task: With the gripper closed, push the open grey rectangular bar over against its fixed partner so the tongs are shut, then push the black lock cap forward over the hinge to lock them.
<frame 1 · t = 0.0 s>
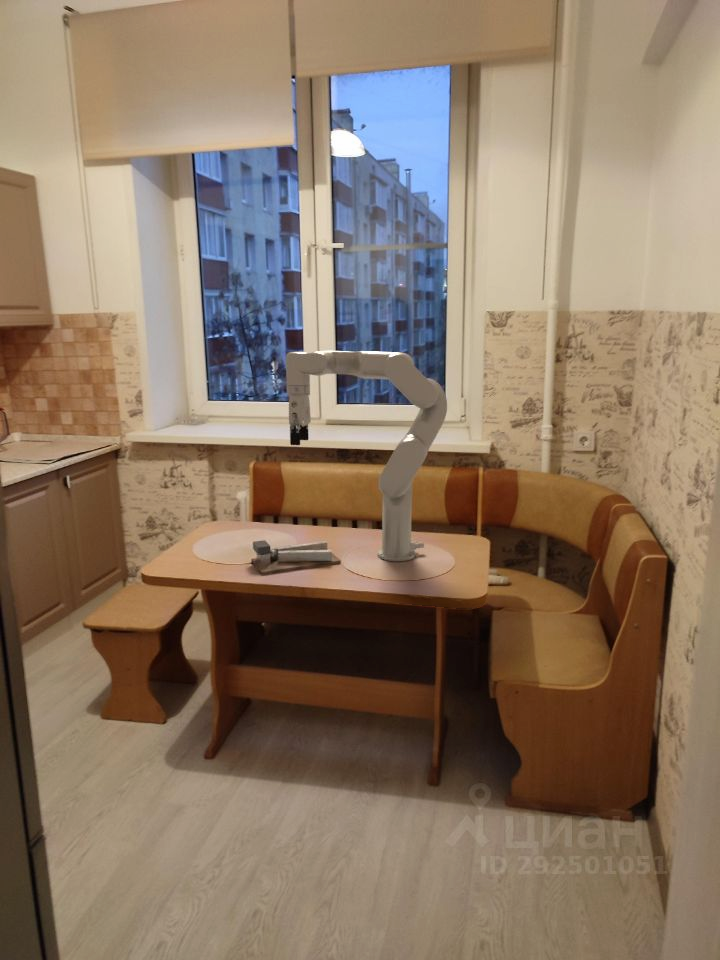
hand: (299, 442, 220), 37 cm above the table, tool pointing down, fingers open, 9 cm apart
tongs frame: (272, 563, 215), resting on cutting board
grey rectangular bar: (300, 554, 214), point 3 cm above the table, hinge at 20.0°
cutting board: (295, 562, 216), on the table
lock slider: (261, 547, 213), point 6 cm above the table, slide at 0.0 cm
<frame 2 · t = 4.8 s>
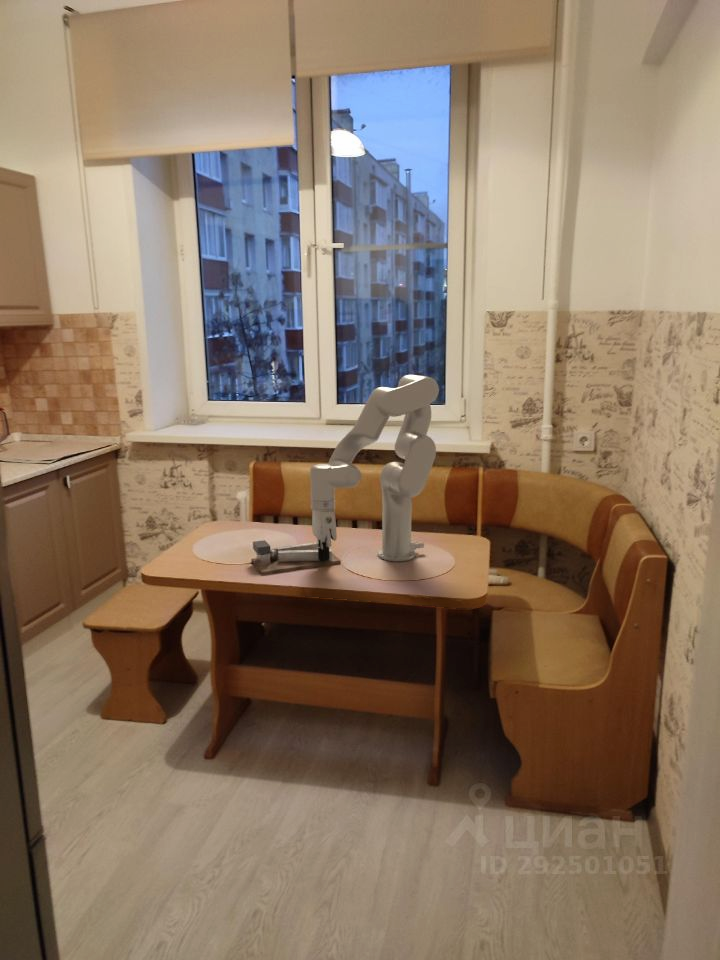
hand: (323, 559, 212), 2 cm above the table, tool pointing down, fingers closed
grey rectangular bar: (300, 554, 215), point 3 cm above the table, hinge at 19.1°, touching gripper
everything else where it was.
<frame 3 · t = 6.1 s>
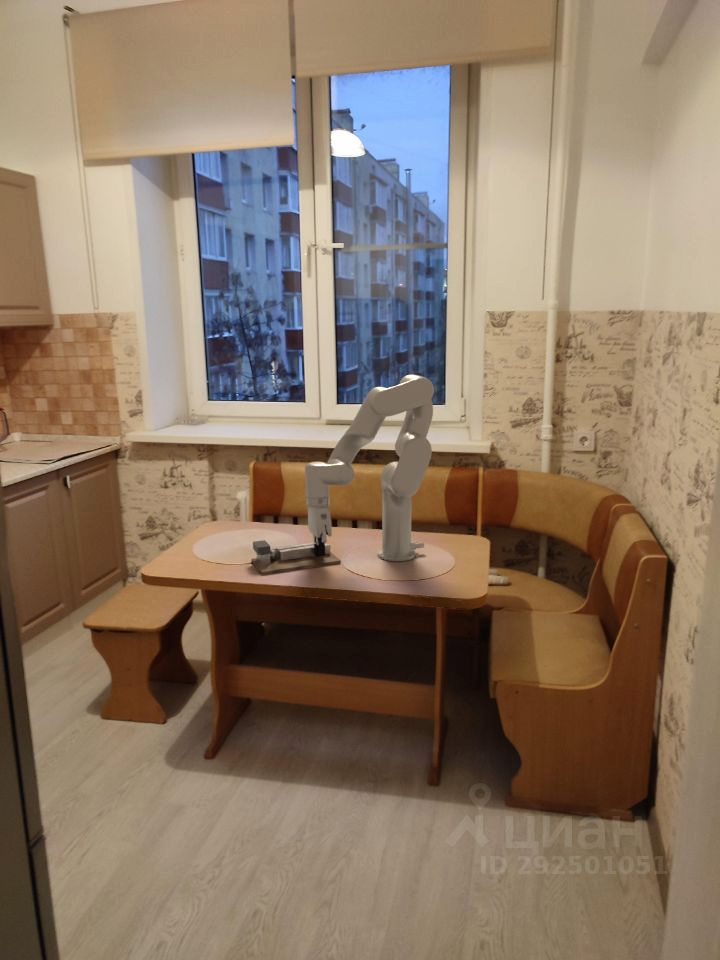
hand: (319, 555, 217), 2 cm above the table, tool pointing down, fingers closed
grey rectangular bar: (299, 551, 218), point 3 cm above the table, hinge at -0.6°, touching gripper
everything else where it was.
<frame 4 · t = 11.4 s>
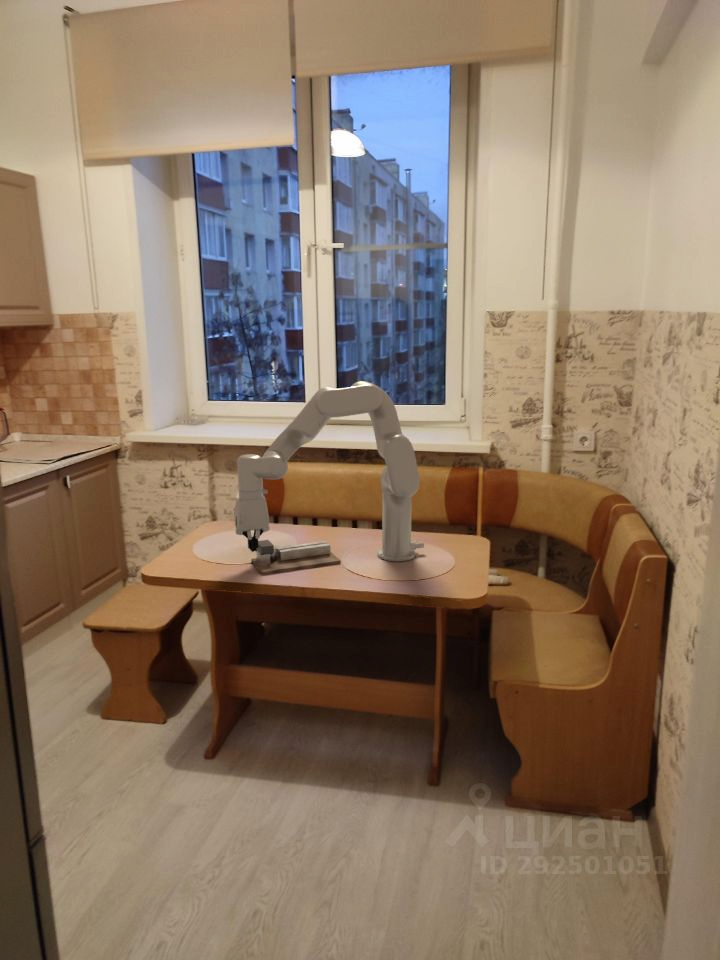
hand: (253, 550, 212), 5 cm above the table, tool pointing down, fingers closed
grey rectangular bar: (299, 551, 218), point 3 cm above the table, hinge at -0.4°
lock slider: (264, 546, 213), point 6 cm above the table, slide at 1.1 cm, touching gripper
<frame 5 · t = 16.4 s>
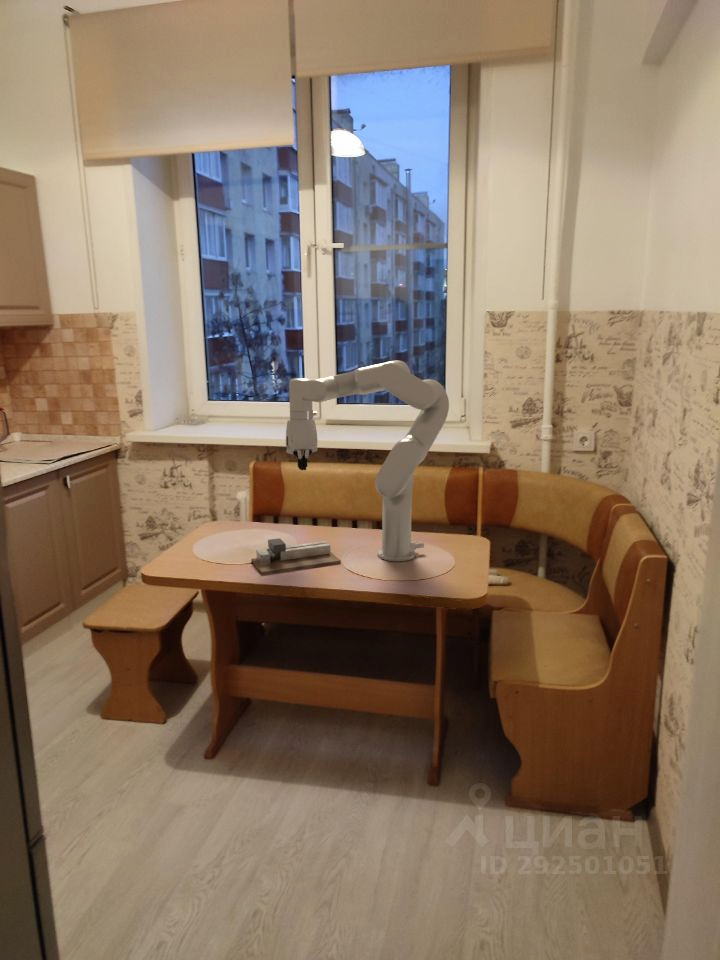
hand: (302, 469, 227), 27 cm above the table, tool pointing down, fingers closed
lock slider: (276, 545, 215), point 6 cm above the table, slide at 5.0 cm
everything else where it was.
at the end: grey rectangular bar at +0° (first picture: +20°); lock slider slide at 5.0 cm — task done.
